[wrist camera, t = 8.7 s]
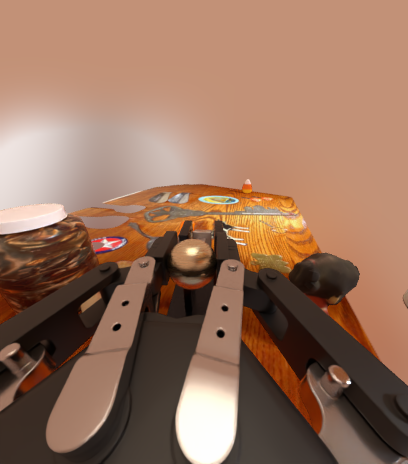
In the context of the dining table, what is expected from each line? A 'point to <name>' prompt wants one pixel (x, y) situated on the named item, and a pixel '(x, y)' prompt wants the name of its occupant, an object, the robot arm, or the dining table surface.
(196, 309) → the bracket
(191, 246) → the lever
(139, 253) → the dining table surface
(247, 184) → the candy corn
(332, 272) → the figurine
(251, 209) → the dining table surface
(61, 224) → the jar
